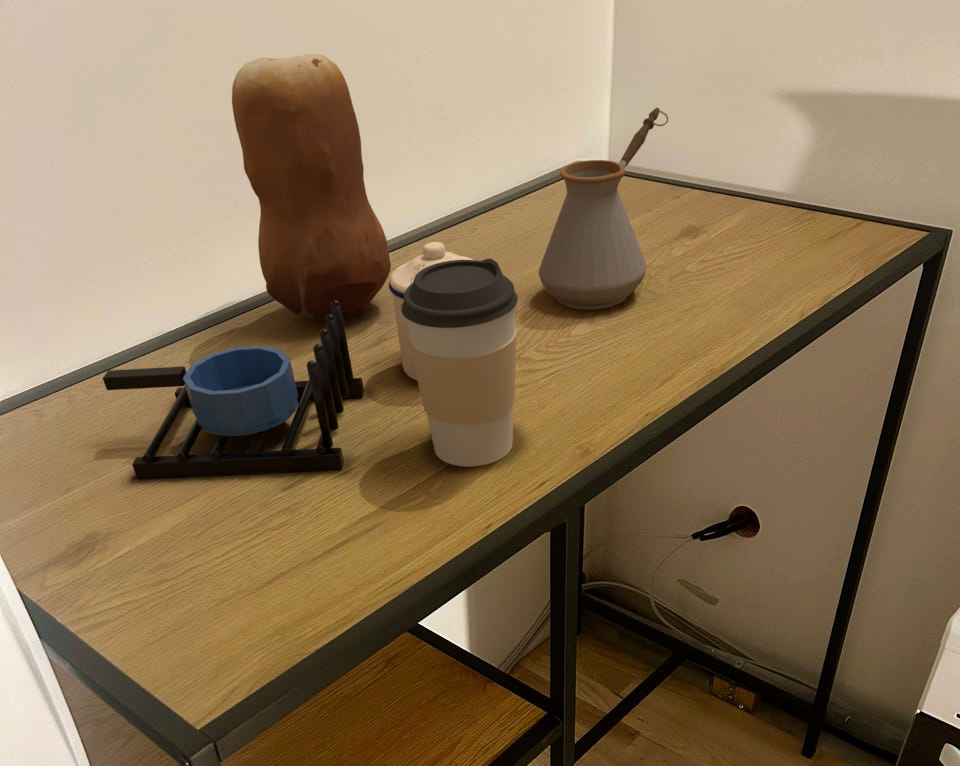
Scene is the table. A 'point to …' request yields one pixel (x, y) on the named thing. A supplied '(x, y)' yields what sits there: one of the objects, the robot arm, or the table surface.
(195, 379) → the saucepan
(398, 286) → the teacup with lid
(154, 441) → the dish rack
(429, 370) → the coffee cup
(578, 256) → the coffee pot
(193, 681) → the table surface
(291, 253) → the butternut squash
